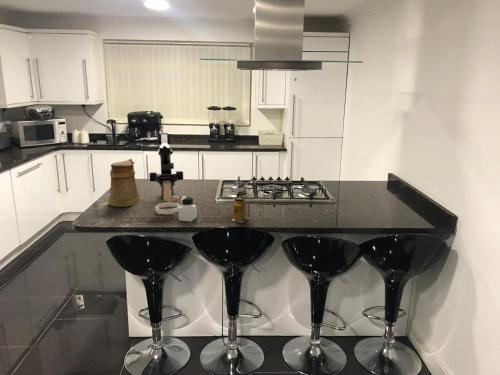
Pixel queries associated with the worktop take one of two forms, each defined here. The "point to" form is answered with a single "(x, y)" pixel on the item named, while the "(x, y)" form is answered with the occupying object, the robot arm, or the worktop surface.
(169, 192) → the spice jar
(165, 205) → the dish
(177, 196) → the parts tray
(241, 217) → the condiment
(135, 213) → the worktop surface
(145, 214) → the worktop surface
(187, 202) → the medicine bottle
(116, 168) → the tankard
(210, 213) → the worktop surface
